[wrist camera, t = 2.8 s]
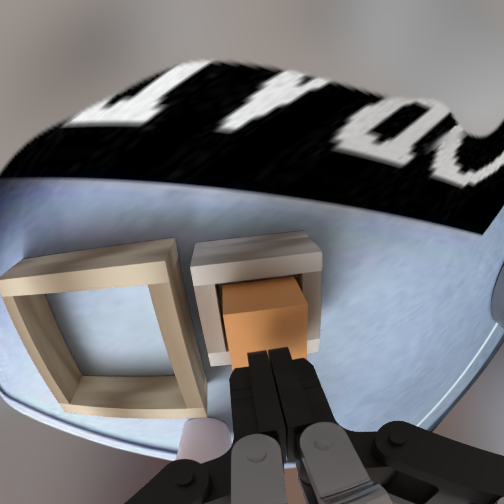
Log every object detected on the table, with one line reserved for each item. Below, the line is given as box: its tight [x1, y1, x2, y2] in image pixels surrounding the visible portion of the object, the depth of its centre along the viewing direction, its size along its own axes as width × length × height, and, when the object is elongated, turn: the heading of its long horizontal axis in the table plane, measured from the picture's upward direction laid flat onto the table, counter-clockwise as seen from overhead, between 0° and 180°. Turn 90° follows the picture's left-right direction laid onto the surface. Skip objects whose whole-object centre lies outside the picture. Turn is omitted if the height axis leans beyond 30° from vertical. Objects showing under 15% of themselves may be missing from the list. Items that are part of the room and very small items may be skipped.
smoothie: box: [176, 417, 232, 464], centre depth 14 cm, size 6×6×14 cm
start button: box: [222, 276, 308, 371], centre depth 13 cm, size 3×3×2 cm
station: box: [0, 231, 322, 419], centre depth 15 cm, size 17×10×3 cm, turn 95°
